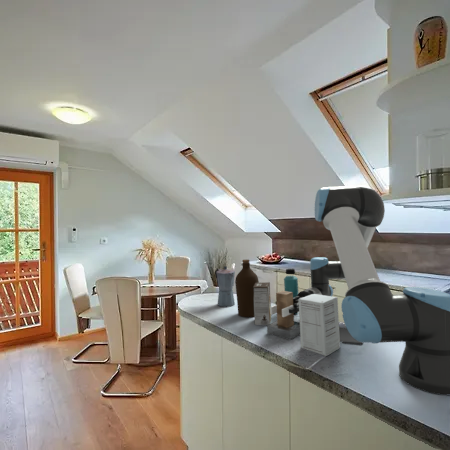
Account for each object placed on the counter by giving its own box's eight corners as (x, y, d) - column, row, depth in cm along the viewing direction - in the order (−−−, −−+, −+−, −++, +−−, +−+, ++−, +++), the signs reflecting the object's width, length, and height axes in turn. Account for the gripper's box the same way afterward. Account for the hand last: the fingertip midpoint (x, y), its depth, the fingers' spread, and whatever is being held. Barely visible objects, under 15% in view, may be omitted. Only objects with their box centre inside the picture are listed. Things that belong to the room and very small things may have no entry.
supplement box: (341, 348, 104) (339, 297, 104) (326, 357, 98) (323, 303, 97) (315, 340, 111) (313, 292, 111) (299, 349, 105) (297, 298, 105)
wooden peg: (294, 332, 119) (292, 292, 119) (287, 335, 116) (286, 294, 116) (284, 329, 122) (282, 290, 122) (277, 332, 119) (276, 293, 119)
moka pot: (228, 309, 155) (226, 268, 154) (208, 304, 166) (206, 266, 166) (242, 305, 161) (240, 265, 161) (222, 300, 173) (220, 263, 172)
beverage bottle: (292, 315, 140) (290, 270, 140) (281, 312, 146) (280, 269, 145) (302, 312, 144) (300, 268, 143) (292, 309, 149) (290, 267, 149)
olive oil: (249, 319, 138) (246, 262, 137) (232, 315, 145) (229, 260, 145) (264, 313, 145) (262, 259, 145) (247, 309, 153) (245, 257, 152)
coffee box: (256, 319, 138) (255, 282, 138) (271, 319, 137) (270, 282, 136) (254, 326, 129) (252, 286, 129) (270, 326, 128) (268, 286, 127)
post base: (304, 332, 119) (304, 323, 119) (290, 340, 112) (290, 331, 112) (282, 327, 126) (282, 318, 126) (267, 334, 119) (266, 325, 119)
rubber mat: (362, 344, 106) (362, 342, 106) (325, 341, 110) (324, 340, 110) (359, 330, 119) (359, 328, 119) (325, 328, 123) (325, 326, 123)
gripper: (329, 310, 126) (298, 327, 109) (291, 304, 138) (258, 318, 121) (328, 291, 126) (297, 305, 109) (290, 286, 138) (257, 298, 121)
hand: (276, 312), depth 115 cm, fingers closed on wooden peg, 4 cm apart
